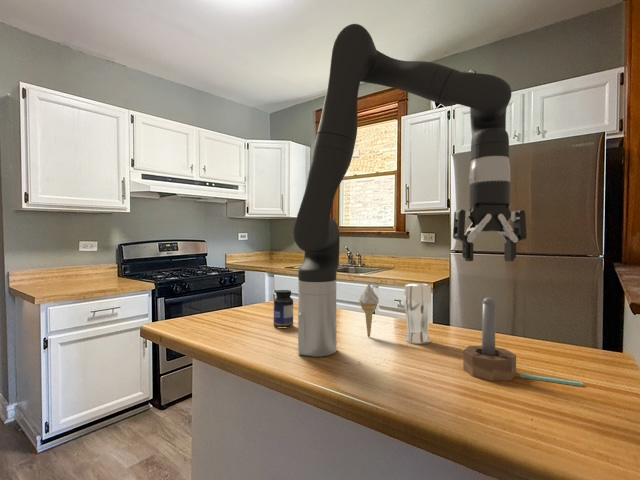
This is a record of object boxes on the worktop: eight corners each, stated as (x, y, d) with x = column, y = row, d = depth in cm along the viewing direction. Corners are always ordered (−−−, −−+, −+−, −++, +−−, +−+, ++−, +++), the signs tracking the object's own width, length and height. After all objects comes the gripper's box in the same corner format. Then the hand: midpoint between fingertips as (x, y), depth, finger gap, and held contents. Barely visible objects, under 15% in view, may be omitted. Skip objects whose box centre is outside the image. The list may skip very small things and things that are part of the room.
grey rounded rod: (486, 374, 70) (486, 298, 70) (479, 370, 72) (479, 296, 72) (497, 374, 70) (497, 298, 70) (491, 369, 72) (491, 296, 72)
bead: (479, 381, 66) (479, 360, 66) (457, 364, 75) (457, 346, 75) (524, 380, 67) (524, 359, 67) (497, 363, 76) (497, 345, 76)
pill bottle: (270, 325, 109) (270, 290, 109) (286, 322, 113) (286, 288, 113) (279, 329, 104) (279, 292, 104) (297, 326, 108) (297, 291, 108)
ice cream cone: (356, 338, 95) (356, 283, 95) (361, 333, 100) (361, 281, 100) (376, 340, 93) (376, 284, 93) (381, 335, 98) (381, 282, 98)
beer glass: (432, 345, 88) (432, 286, 88) (404, 344, 90) (404, 286, 90) (429, 338, 95) (429, 283, 95) (403, 336, 96) (403, 282, 96)
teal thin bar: (520, 377, 68) (520, 374, 68) (520, 375, 69) (520, 373, 69) (583, 386, 64) (583, 383, 64) (582, 385, 64) (582, 382, 64)
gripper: (464, 178, 67) (464, 262, 67) (535, 179, 68) (535, 262, 68) (447, 184, 74) (447, 260, 75) (511, 185, 75) (511, 260, 75)
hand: (489, 261), depth 71 cm, fingers open, 8 cm apart
